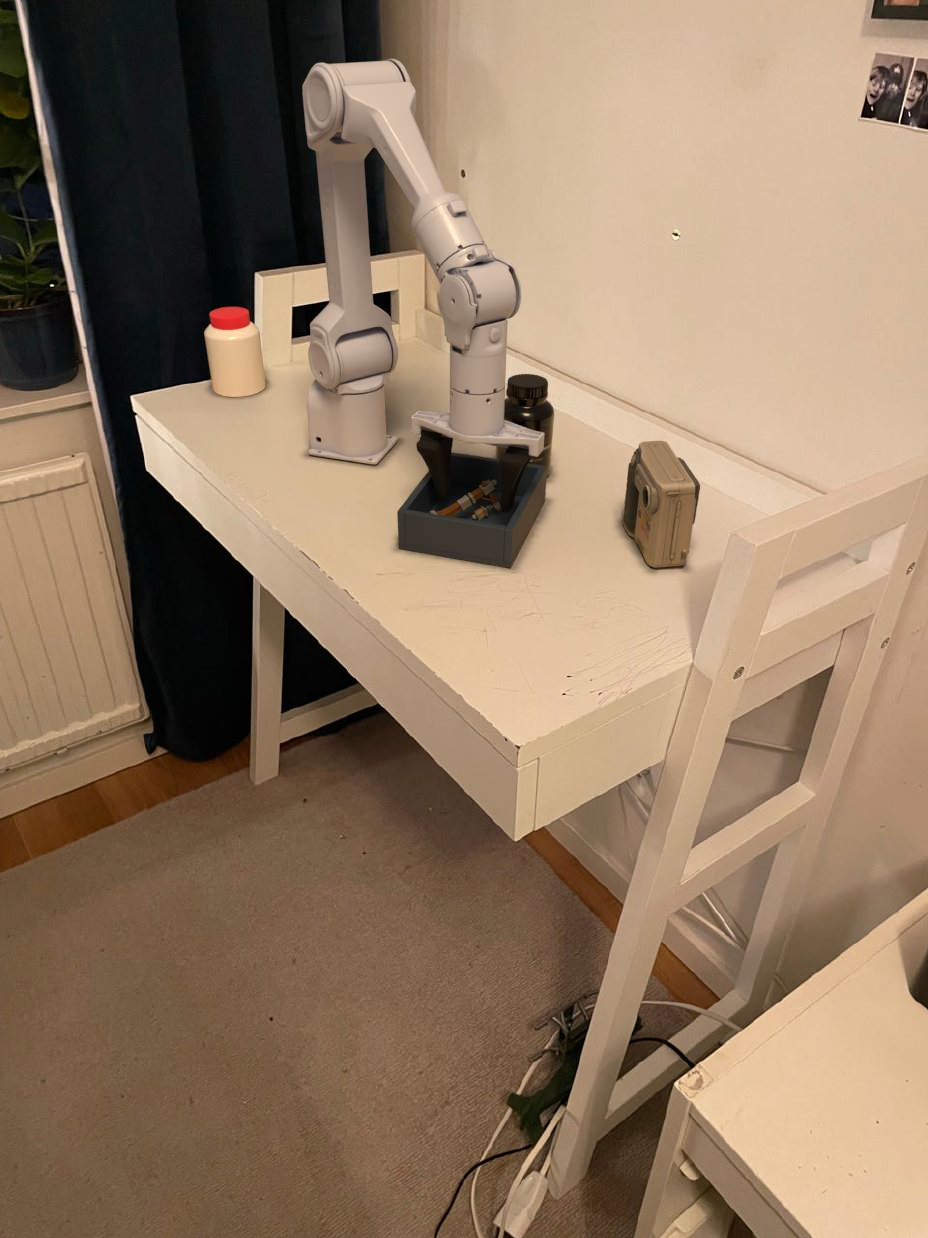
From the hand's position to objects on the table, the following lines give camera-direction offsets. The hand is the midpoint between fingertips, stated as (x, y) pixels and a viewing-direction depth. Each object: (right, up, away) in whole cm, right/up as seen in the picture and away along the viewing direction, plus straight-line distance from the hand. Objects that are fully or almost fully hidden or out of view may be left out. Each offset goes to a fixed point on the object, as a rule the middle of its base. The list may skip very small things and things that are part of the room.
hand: (475, 501), depth 104 cm
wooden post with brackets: (-1, -2, +1) cm, 3 cm away
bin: (0, -2, +2) cm, 3 cm away
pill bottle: (-35, +21, +34) cm, 53 cm away
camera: (+20, -5, -1) cm, 20 cm away
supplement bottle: (+6, +5, +12) cm, 14 cm away
